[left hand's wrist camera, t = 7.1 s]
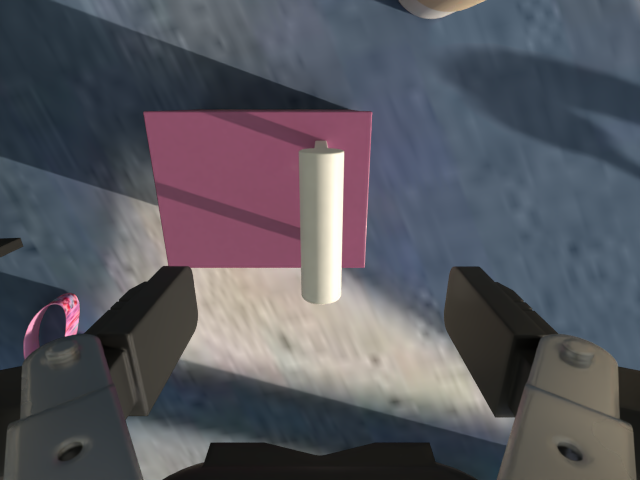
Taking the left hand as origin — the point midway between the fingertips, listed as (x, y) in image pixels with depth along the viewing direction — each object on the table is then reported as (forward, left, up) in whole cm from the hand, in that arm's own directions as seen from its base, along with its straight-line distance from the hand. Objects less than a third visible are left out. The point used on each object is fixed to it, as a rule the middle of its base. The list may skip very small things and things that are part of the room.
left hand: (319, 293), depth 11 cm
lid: (-2, +3, -14) cm, 14 cm away
